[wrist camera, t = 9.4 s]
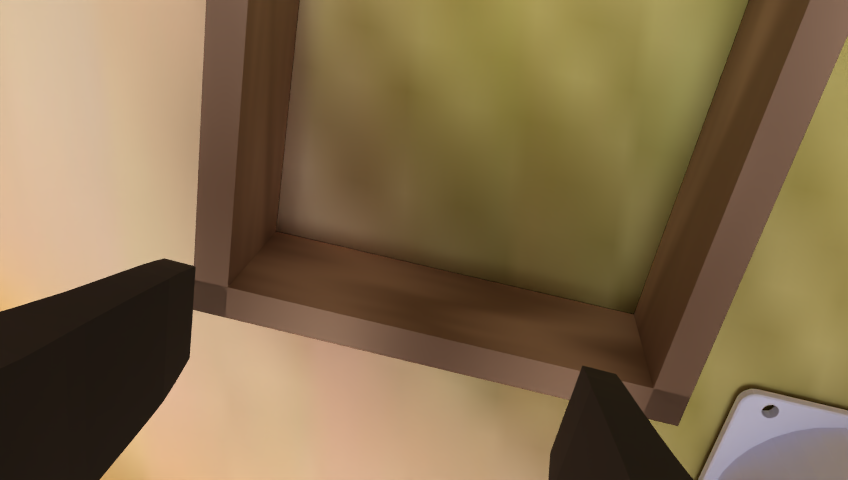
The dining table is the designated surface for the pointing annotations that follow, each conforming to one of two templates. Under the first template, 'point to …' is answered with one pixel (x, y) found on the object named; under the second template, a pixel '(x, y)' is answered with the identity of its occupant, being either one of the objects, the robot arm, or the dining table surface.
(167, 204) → the dining table surface
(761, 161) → the walnut crate
